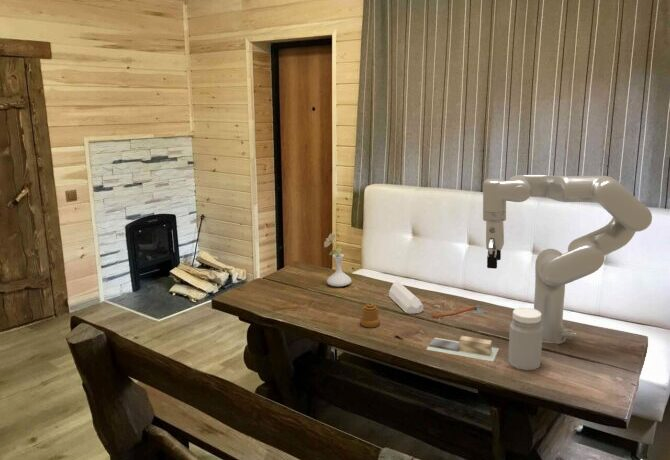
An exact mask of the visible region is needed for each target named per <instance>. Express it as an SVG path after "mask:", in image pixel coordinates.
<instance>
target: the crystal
mask: <svg viewBox="0 0 670 460" xmlns="http://www.w3.org/2000/svg"><path fill="white" fill-rule="evenodd" d="M388 296H389V298H390V299H391V300H392V301H393V302H394V303H395V304H396V305H398V307H400V309H402V310H403V311H404V313H406V314H409V315H414V314H421V312H423V311H424V304H423V303H422V301H421V300H420V298H418V297H417V296H416V295H415V294H413V292H412V291H410V290H409V289H407V287H405V285H403V284H402V283H401V282H400V281H398V280H395V281H394V282H393V283H392V285H391V287H390V289H389V290H388Z"/></svg>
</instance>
